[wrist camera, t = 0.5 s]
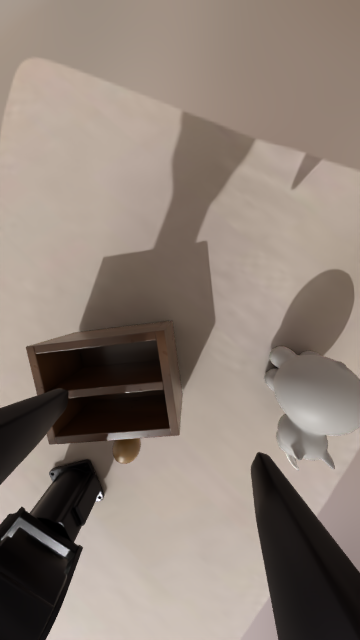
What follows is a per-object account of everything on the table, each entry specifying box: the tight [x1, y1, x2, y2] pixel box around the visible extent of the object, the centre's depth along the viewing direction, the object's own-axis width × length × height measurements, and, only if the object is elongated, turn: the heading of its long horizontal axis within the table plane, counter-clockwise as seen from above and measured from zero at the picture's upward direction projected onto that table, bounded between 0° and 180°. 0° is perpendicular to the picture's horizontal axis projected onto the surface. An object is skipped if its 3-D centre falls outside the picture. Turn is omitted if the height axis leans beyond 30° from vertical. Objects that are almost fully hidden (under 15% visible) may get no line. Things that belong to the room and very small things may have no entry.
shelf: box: [26, 321, 183, 464], centre depth 19 cm, size 14×13×7 cm
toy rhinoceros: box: [264, 346, 360, 470], centre depth 18 cm, size 7×12×8 cm, turn 168°
